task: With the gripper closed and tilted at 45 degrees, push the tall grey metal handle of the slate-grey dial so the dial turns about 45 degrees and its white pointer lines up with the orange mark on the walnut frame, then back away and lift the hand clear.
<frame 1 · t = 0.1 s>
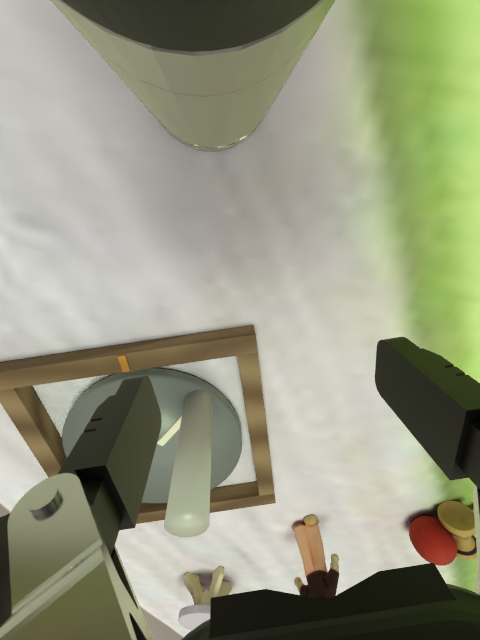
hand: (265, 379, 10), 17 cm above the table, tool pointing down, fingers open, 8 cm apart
kendama: (456, 506, 45), on the table
grandmother figurine: (302, 523, 44), on the table
dial frame: (158, 436, 34), on the table
tree stump: (209, 577, 49), on the table
dial: (144, 493, 27), point 7 cm above the table, hinge at 0.0°
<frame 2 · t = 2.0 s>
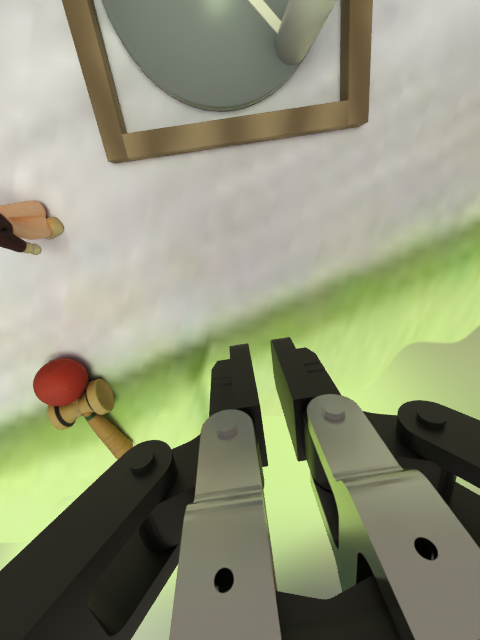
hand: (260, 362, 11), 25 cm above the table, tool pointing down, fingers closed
kendama: (98, 400, 41), on the table
grandmother figurine: (38, 217, 31), on the table
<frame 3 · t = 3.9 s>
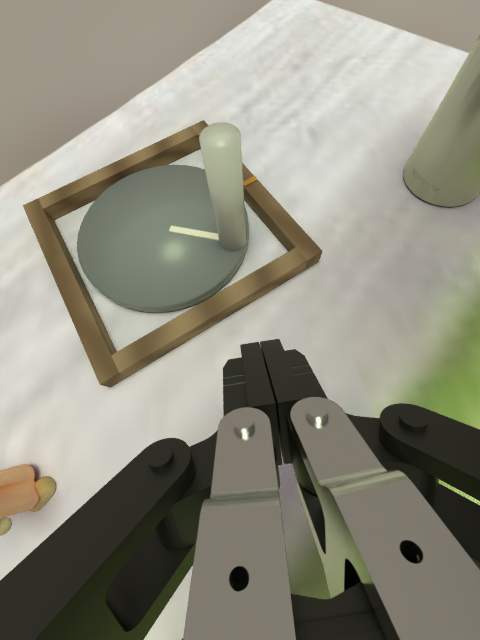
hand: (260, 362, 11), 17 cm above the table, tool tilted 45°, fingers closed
grandmother figurine: (27, 486, 25), on the table
dial frame: (166, 237, 34), on the table
dial: (145, 192, 28), point 7 cm above the table, hinge at 0.0°
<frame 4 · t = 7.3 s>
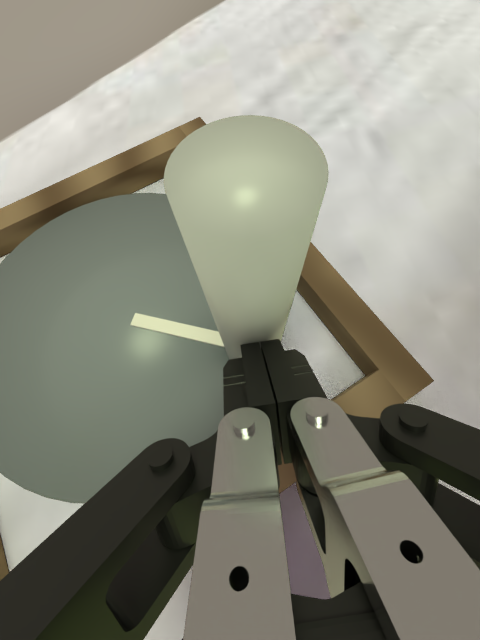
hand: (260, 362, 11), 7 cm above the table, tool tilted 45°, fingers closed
dial frame: (131, 326, 19), on the table
dial: (67, 273, 13), point 7 cm above the table, hinge at 0.4°, touching gripper
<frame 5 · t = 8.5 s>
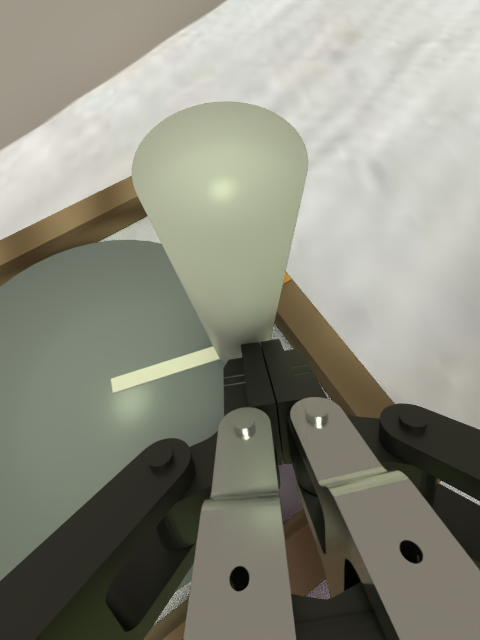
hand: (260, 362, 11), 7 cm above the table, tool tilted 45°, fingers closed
dial frame: (111, 394, 17), on the table
dial: (23, 377, 11), point 7 cm above the table, hinge at 31.1°, touching gripper
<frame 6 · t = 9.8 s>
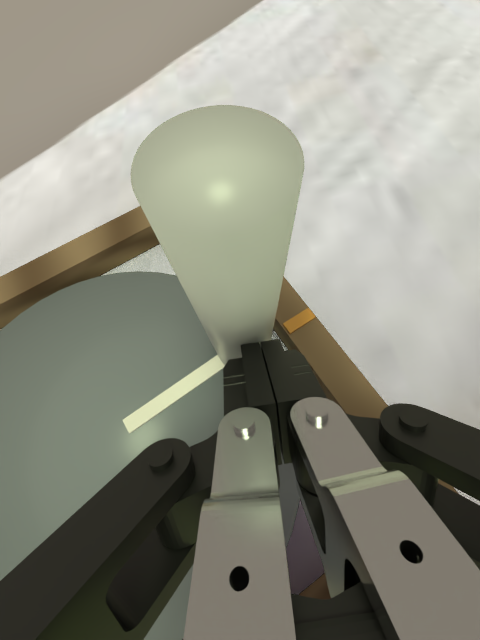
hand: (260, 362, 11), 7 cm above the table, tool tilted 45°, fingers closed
dial frame: (125, 437, 16), on the table
dial: (38, 444, 10), point 7 cm above the table, hinge at 49.0°, touching gripper
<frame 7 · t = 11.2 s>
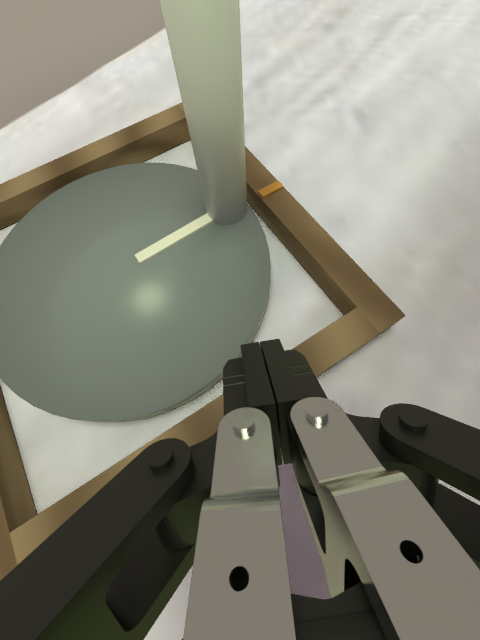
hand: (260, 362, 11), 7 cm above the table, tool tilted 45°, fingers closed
dial frame: (135, 280, 21), on the table
dial: (81, 213, 15), point 7 cm above the table, hinge at 49.0°
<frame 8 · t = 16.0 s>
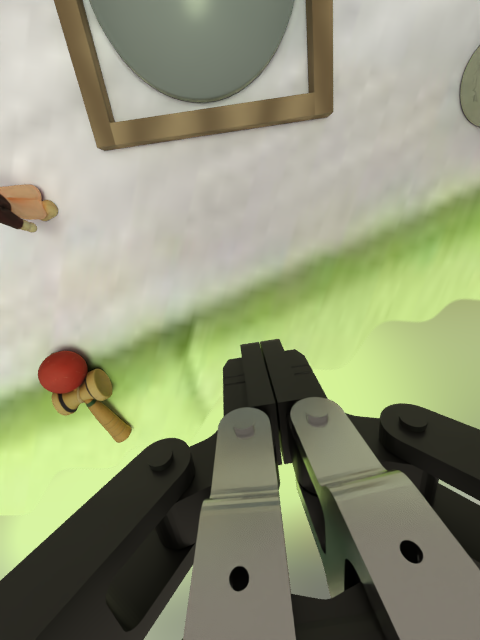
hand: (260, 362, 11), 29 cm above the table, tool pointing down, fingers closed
kendama: (98, 389, 45), on the table
grandmother figurine: (34, 201, 34), on the table
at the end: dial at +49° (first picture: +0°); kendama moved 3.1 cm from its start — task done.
